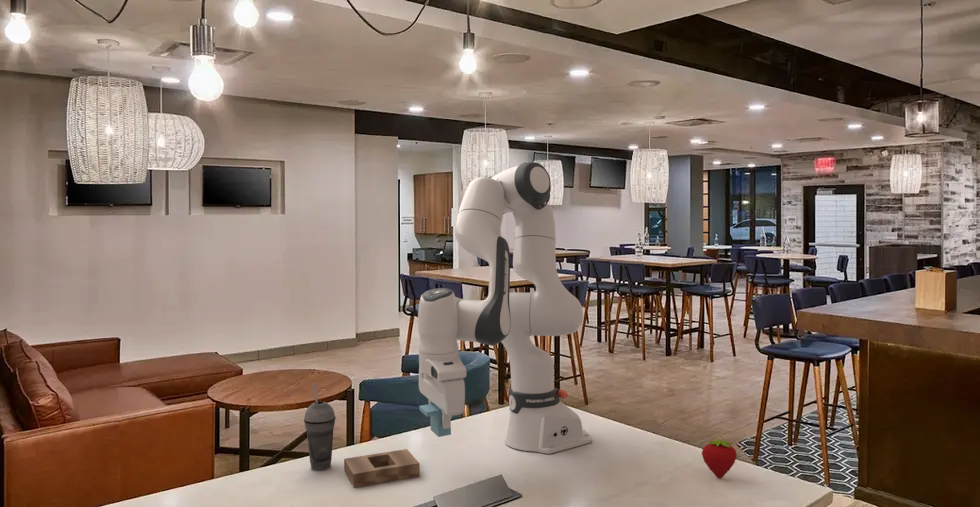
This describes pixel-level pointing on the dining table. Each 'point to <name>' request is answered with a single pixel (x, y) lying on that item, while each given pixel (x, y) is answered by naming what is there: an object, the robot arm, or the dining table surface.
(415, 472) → the well block
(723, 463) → the strawberry
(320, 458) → the beverage cup
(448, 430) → the bracket
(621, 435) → the dining table surface
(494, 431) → the dining table surface
